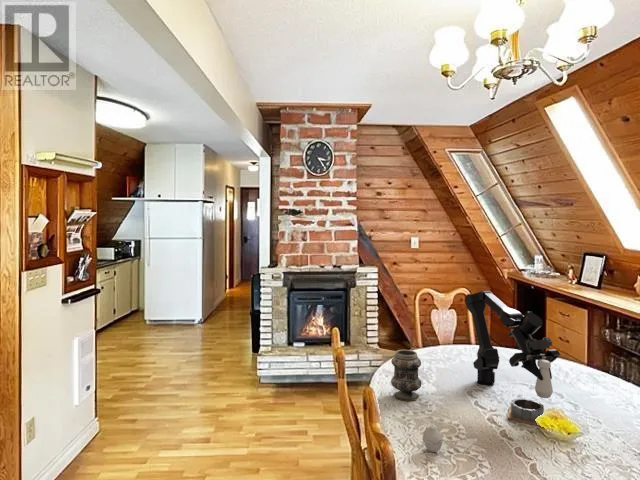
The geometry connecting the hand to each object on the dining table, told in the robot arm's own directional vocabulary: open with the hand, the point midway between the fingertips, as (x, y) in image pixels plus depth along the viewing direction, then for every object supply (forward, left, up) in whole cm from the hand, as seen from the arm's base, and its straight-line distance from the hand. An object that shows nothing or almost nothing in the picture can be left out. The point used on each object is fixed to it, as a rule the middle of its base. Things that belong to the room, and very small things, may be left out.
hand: (546, 379), depth 154 cm
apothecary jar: (-50, -6, -14) cm, 52 cm away
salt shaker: (-1, +1, -7) cm, 7 cm away
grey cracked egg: (-30, -43, -14) cm, 54 cm away
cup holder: (-6, -4, -13) cm, 15 cm away
